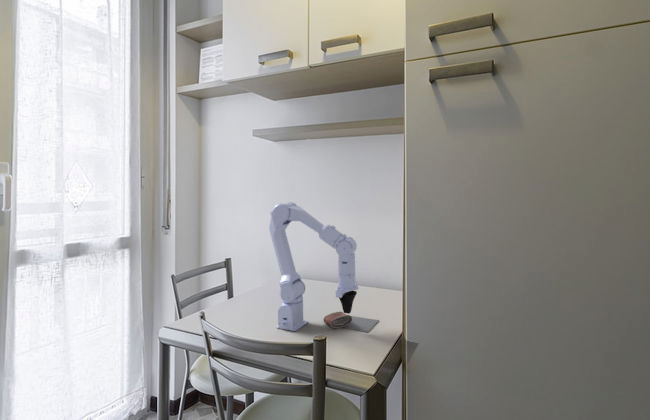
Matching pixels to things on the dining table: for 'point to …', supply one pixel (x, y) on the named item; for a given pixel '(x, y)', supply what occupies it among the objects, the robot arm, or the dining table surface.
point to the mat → (361, 324)
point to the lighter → (337, 319)
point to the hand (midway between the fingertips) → (347, 312)
